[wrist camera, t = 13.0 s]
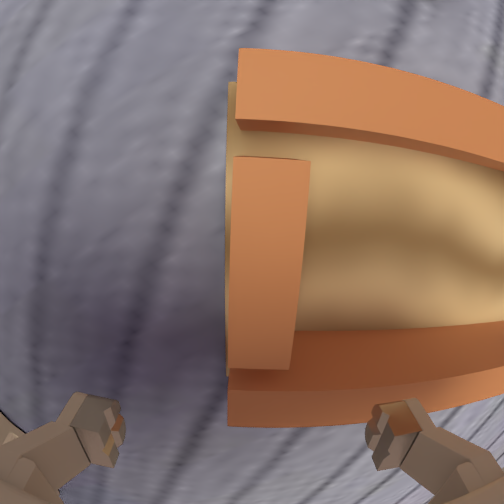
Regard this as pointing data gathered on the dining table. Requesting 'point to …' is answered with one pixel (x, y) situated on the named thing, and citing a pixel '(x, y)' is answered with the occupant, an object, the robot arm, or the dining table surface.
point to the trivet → (386, 233)
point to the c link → (293, 236)
